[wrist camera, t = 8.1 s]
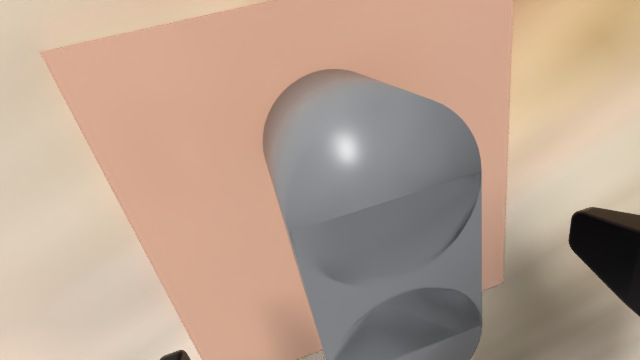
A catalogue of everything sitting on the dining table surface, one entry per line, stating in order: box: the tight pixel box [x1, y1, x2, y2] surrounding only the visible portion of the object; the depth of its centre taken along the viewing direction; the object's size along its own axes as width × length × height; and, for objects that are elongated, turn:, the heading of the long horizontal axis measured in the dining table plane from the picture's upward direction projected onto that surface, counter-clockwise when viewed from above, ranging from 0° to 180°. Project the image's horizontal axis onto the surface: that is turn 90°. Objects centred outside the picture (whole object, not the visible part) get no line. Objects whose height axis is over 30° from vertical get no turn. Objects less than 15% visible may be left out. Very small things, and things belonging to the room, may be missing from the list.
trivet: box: [40, 0, 513, 360], centre depth 12 cm, size 12×12×1 cm
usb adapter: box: [263, 69, 482, 360], centre depth 10 cm, size 10×4×4 cm, turn 12°
